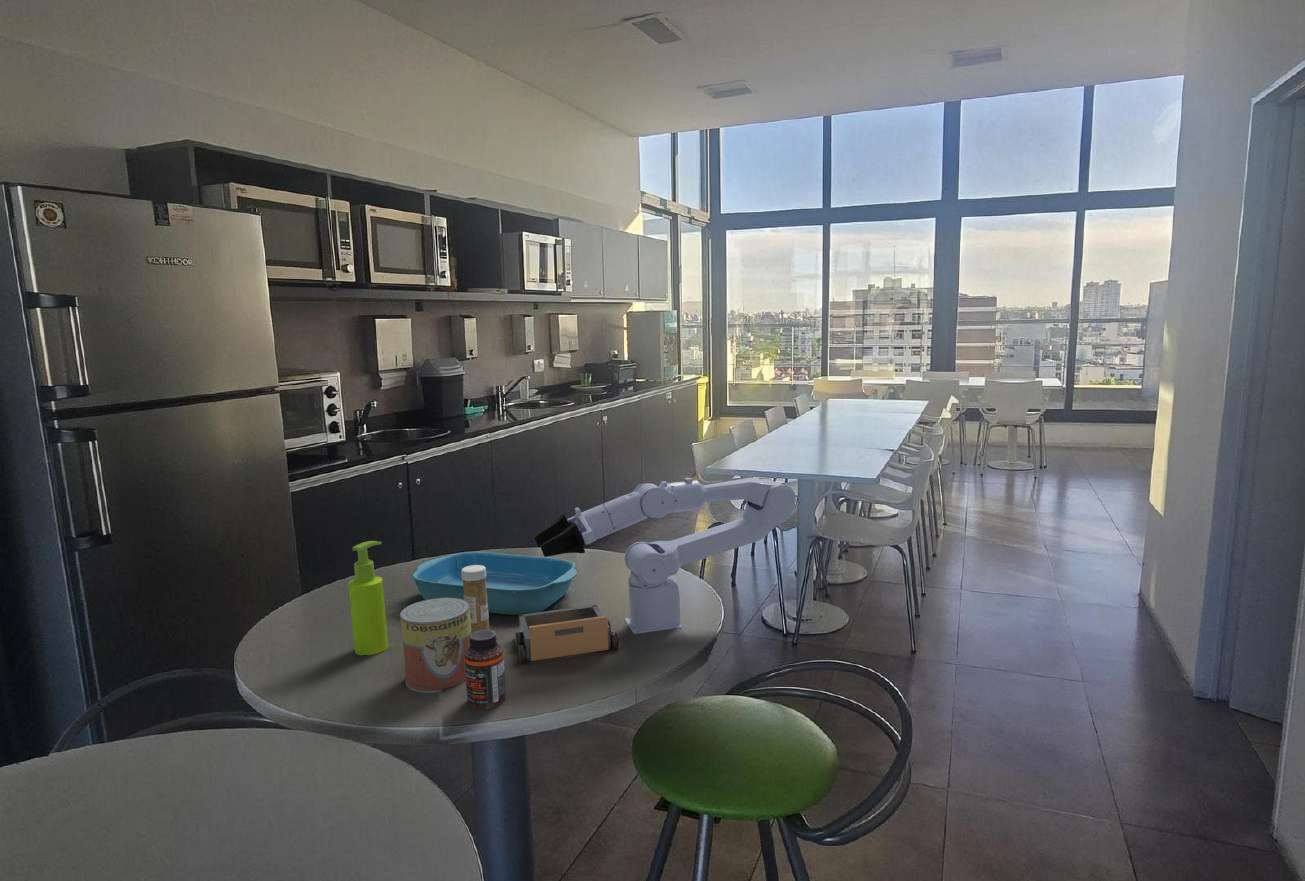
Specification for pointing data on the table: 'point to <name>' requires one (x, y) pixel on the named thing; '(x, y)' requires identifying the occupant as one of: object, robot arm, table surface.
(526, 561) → the casserole dish
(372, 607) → the soap dispenser
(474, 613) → the sprinkles bottle
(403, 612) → the canned food
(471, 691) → the supplement bottle
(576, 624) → the panel
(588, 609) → the trailer
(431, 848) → the table surface
